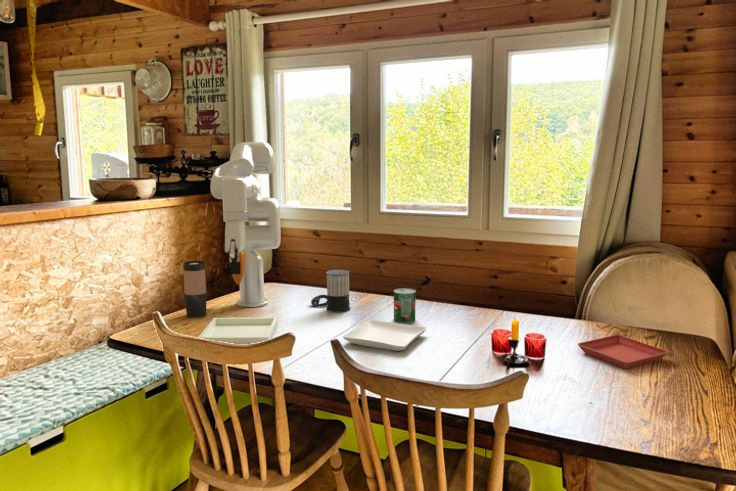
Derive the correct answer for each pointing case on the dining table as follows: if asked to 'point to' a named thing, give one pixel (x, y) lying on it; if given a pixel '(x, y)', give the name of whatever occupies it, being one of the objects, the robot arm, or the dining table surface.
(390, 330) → the salad plate
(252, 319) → the tray
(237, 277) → the carrot
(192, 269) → the travel mug
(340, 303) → the milk frother
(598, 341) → the plant saucer
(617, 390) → the dining table surface
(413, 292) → the canned tomato
